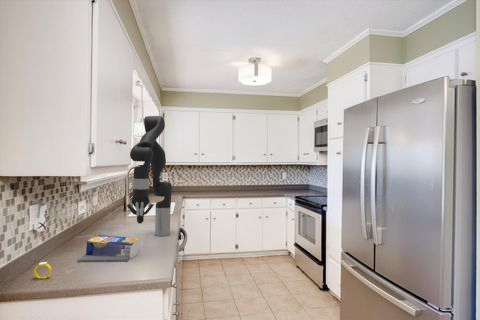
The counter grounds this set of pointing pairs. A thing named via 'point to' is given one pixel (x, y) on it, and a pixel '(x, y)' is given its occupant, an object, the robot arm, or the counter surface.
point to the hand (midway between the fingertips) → (140, 223)
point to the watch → (42, 265)
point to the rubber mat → (102, 258)
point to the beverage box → (113, 246)
